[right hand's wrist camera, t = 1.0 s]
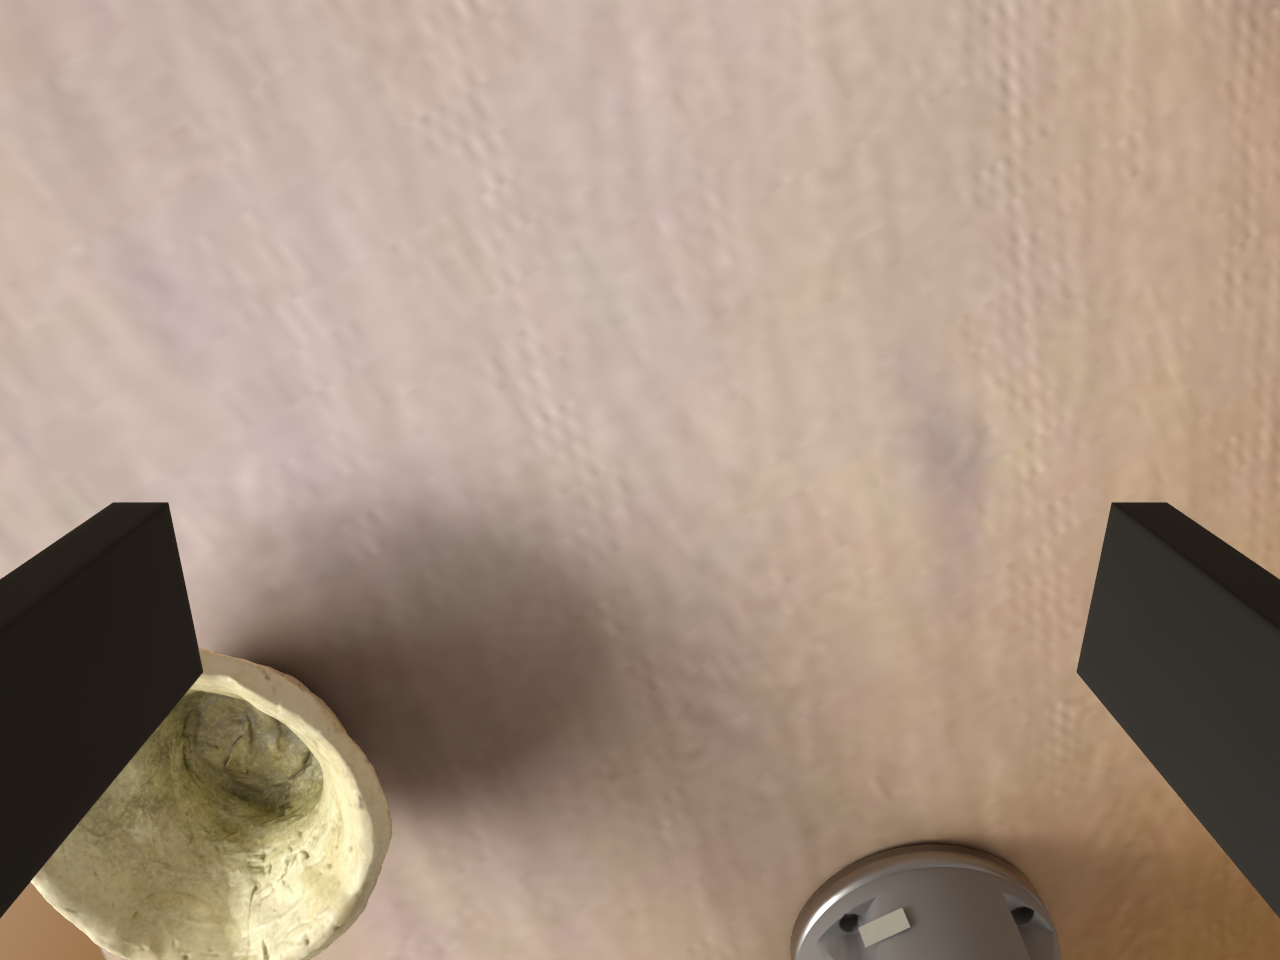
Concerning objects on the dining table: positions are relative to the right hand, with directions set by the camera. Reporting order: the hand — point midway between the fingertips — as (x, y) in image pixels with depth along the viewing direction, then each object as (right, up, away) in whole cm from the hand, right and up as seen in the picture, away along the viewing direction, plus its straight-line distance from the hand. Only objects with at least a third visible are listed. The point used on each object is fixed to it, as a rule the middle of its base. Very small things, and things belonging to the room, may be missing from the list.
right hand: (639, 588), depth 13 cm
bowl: (-20, -11, +34) cm, 42 cm away
